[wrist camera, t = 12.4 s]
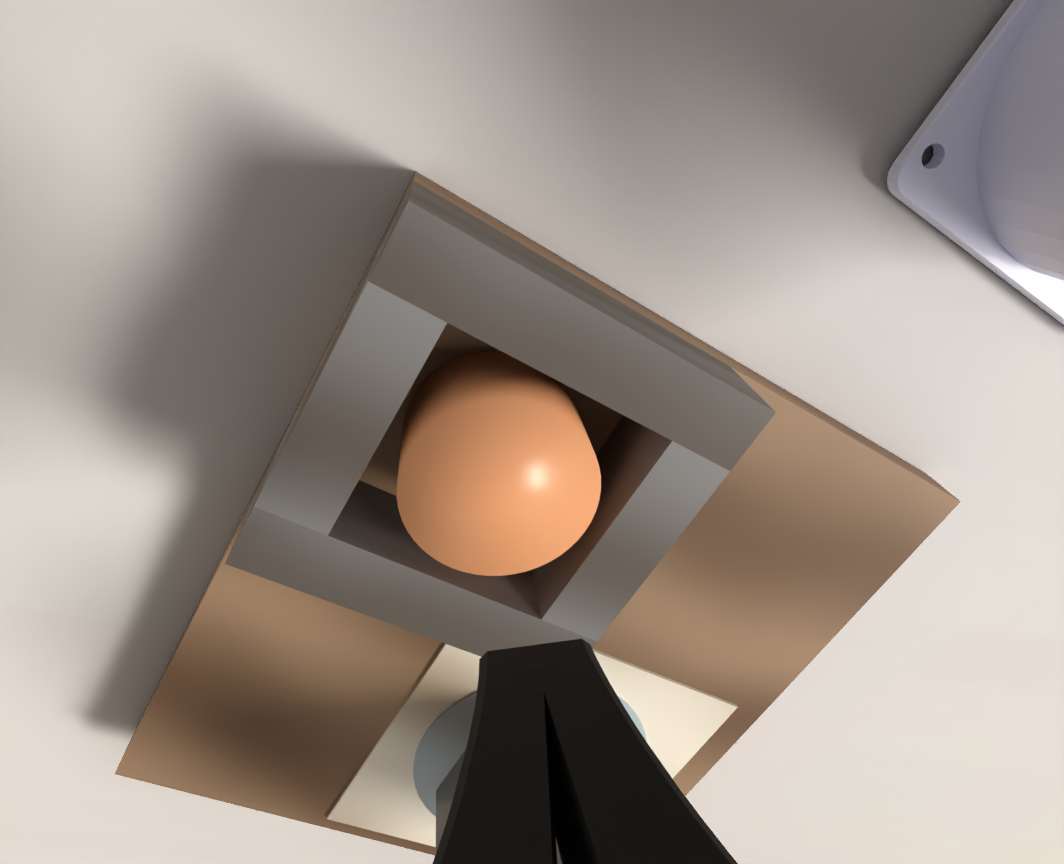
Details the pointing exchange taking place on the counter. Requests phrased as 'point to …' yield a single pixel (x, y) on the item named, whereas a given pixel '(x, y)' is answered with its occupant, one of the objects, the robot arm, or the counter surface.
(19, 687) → the counter surface
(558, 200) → the counter surface
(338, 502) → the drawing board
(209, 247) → the counter surface
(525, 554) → the button
